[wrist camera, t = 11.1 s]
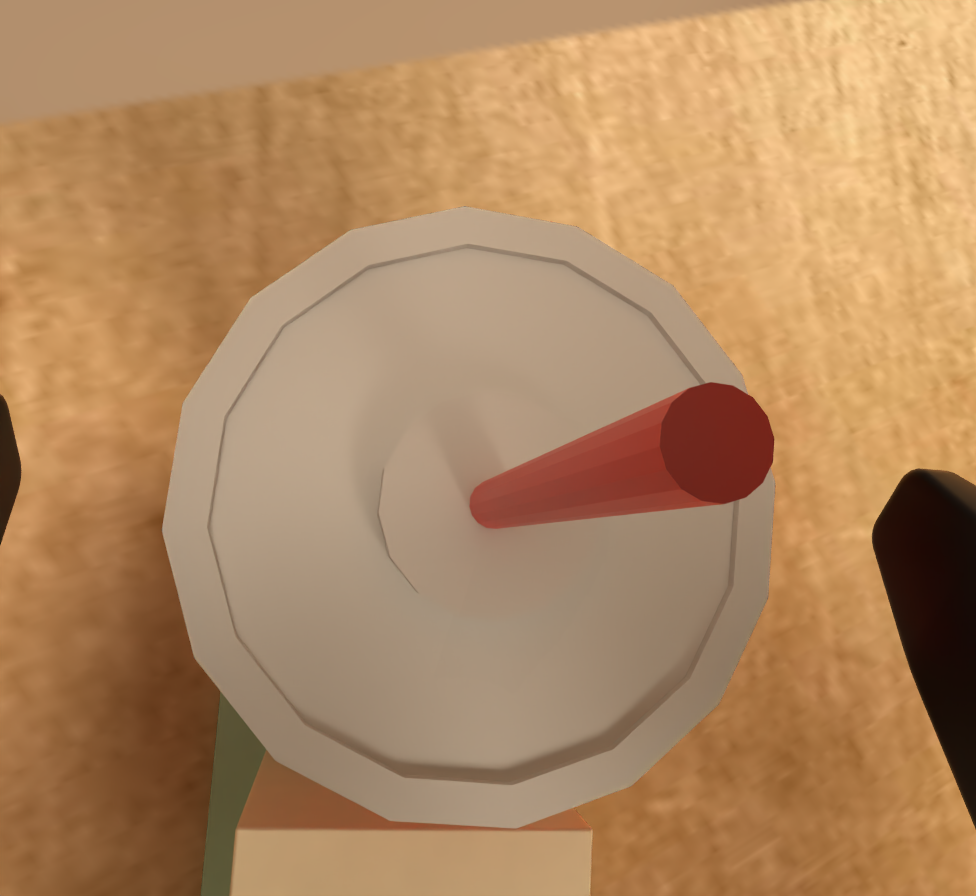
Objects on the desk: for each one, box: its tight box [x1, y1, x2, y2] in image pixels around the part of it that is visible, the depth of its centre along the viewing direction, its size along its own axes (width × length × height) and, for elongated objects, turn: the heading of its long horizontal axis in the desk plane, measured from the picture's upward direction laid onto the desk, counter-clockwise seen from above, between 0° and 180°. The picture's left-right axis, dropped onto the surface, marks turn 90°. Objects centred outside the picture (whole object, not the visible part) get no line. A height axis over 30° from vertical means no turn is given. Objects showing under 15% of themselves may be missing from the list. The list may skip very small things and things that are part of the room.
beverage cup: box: [162, 206, 775, 829], centre depth 10 cm, size 6×6×14 cm
